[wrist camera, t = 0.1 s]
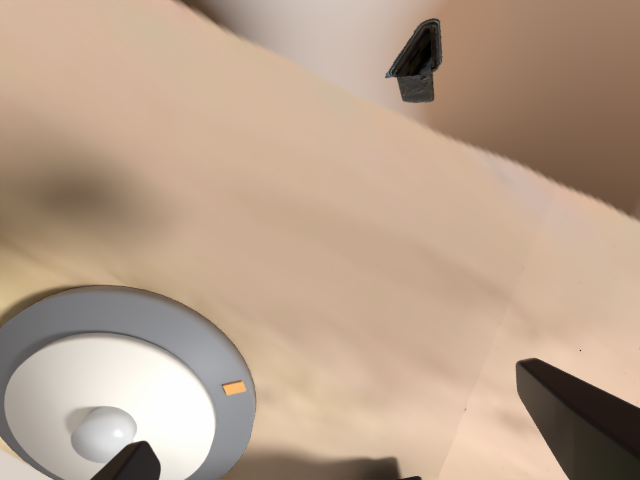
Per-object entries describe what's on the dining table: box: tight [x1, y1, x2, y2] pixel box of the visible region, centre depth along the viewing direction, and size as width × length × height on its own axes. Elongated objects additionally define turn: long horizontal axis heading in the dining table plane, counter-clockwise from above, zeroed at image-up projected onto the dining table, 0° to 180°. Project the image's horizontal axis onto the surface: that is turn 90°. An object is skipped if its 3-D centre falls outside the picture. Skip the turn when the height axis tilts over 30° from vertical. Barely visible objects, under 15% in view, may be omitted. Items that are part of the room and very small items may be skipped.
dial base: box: [0, 285, 256, 480], centre depth 27 cm, size 22×22×2 cm
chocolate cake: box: [385, 18, 443, 103], centre depth 47 cm, size 10×7×12 cm
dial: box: [4, 333, 217, 480], centre depth 24 cm, size 20×16×6 cm
